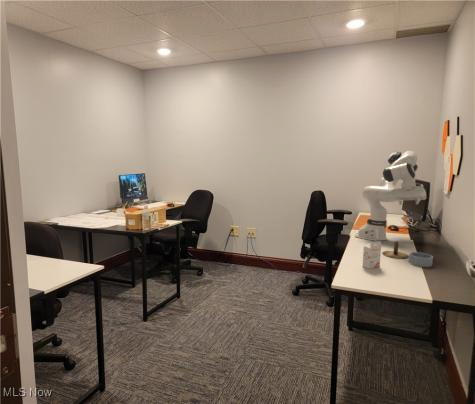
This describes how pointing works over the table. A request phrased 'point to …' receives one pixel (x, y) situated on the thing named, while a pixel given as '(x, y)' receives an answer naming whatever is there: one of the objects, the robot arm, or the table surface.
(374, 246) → the ink cartridge box
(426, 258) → the bowl
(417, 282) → the table surface
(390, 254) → the lid
